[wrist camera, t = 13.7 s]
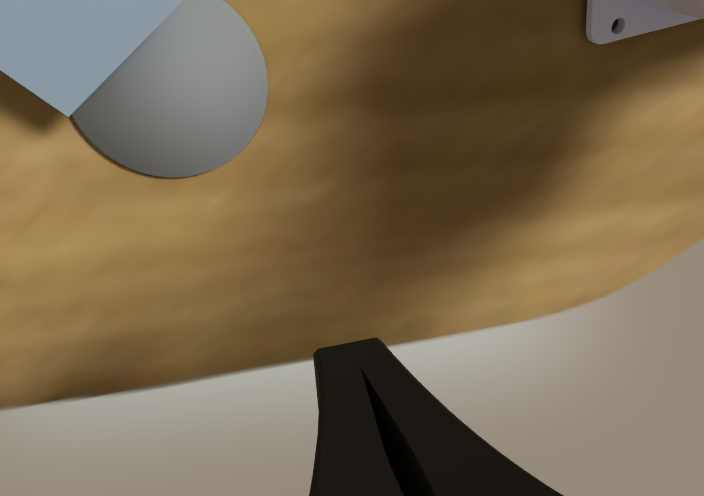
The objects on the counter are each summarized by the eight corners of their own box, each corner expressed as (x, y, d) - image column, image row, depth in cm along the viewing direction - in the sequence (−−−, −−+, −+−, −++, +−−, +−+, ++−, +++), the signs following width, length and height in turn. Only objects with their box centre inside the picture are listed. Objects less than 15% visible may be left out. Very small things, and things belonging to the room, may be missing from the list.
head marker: (305, 86, 19) (307, 88, 18) (178, 208, 20) (178, 211, 19) (157, -75, 15) (157, -75, 15) (14, 81, 16) (13, 82, 16)
